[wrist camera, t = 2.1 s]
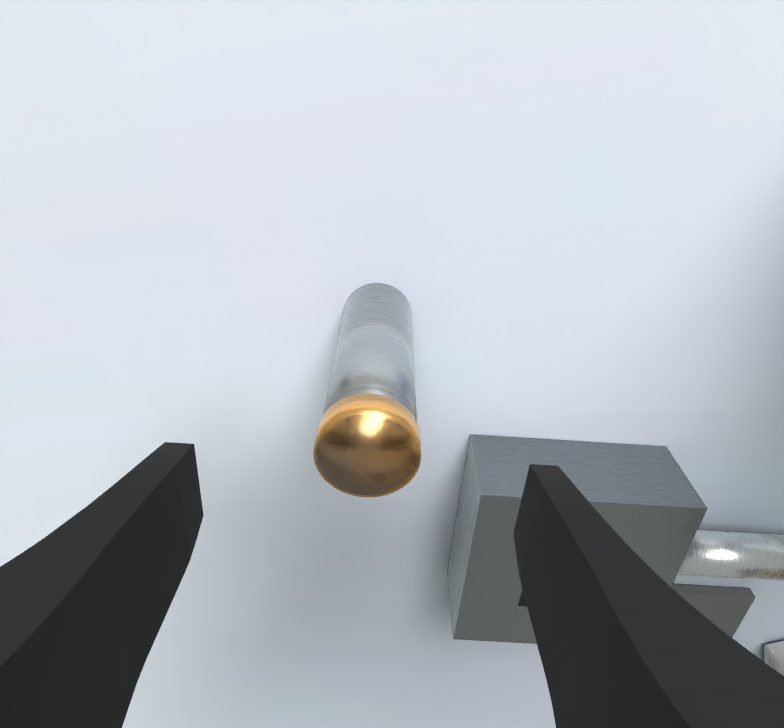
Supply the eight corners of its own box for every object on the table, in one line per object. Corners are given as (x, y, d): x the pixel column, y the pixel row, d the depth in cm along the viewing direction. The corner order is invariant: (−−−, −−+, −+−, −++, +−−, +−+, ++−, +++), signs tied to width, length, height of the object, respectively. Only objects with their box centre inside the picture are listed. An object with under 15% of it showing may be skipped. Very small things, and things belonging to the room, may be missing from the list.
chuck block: (470, 434, 23) (480, 495, 20) (835, 457, 23) (902, 520, 20) (447, 571, 27) (453, 639, 24) (759, 588, 27) (805, 658, 24)
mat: (625, 581, 27) (629, 590, 26) (749, 588, 27) (755, 597, 26) (594, 658, 30) (597, 667, 29) (706, 664, 30) (711, 673, 29)
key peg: (343, 279, 20) (313, 409, 13) (415, 284, 20) (425, 415, 13) (341, 343, 21) (313, 494, 14) (409, 347, 21) (416, 499, 14)
